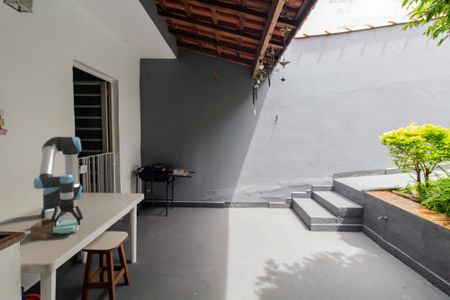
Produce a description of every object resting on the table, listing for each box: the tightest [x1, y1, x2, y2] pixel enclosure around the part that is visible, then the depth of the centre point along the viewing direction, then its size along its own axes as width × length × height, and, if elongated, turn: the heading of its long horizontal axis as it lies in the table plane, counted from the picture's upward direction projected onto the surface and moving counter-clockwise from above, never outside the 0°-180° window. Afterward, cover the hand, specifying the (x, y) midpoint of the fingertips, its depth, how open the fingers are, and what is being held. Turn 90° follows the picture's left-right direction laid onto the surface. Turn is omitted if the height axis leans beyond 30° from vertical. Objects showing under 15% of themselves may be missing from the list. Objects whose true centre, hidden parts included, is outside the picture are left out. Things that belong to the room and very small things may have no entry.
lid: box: [53, 219, 77, 235], centre depth 157 cm, size 15×11×4 cm
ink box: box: [44, 208, 62, 223], centre depth 171 cm, size 9×5×12 cm, turn 141°
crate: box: [30, 218, 55, 241], centre depth 154 cm, size 14×9×8 cm, turn 15°
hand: (67, 230), depth 157 cm, fingers closed on lid, 11 cm apart
